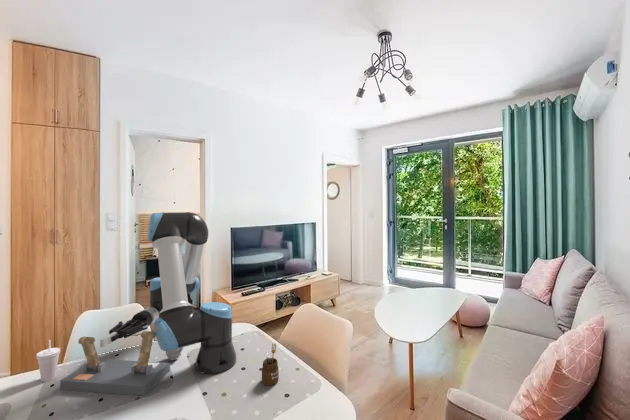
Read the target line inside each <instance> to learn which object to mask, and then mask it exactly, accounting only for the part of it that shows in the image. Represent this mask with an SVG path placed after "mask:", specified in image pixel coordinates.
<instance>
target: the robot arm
mask: <svg viewBox="0 0 630 420" xmlns="http://www.w3.org/2000/svg"><path fill="white" fill-rule="evenodd" d="M148 220H149V222H148V227H147V234H146V235H147V236H146V237H147V238H146V239H147V241H148V242H151V243H152V246H153V247H154V248H155V249H157V258H158V270H159V277H154V278H151V279H150V282H149V307H146V308H145V309H143V310H141V311H139V312H136V313H135V314H134V315H133V316H132V318H131V319H130V320H127V321H126V322H123V321H119V322H118V324H116V325H115V326H113V327H112V328H110V329H109V330H108V334H107V335H105V337H102V338H100V339H99V348H106V346H108V345H110V344H111V343H113V342H116V341H117V340H118V339H119V340H120V339H122V338H124V339H127V338H130V337H132V336H133V335H136V334H137V333H140V332H143V331H146V330H147V329H148V327H150V326H151V325H153V324H154V330H155V331H154V332H155V333H156V336H155V338H156V340H157V341H156V342H157V344H158V346H159V348H160V350H162V351H163V352H166V351H170V350H174V349H175V350H177V349H178V348H182V347H183V348H185V347H189V346H192V345H193V346H194V345H196V344H199V343H200V346H199V350H198V353H197V356H196V359H195V370H197V372H199V373H202V374H206V375H212V374H214V375H215V374H219V373H222V372H225V371H227V370H229V369H231V368H232V367H234V366H235V364H236V363H237V352H236V350H235V346H234V344H233V337H232V336H233V313H232V312H233V311H232V309H233V308H232V307H231V305H229V304H228V303H225V302H219V301H218V302H216V301H211V302H205V303H202V304H201V305H200V307H199V309H197V310H194V305H193V304H192V303H190V302H189V299H188V294H192V293H196V292H198V291H199V289H200V284H201V283H200V279H199V277H197V275H198V271H199V267H200V263H201V259H202V254H203V251H204V250H203V249H204V246H205V244H206V243H207V242H208V239H209V229H208V224H207V222H205V220H204V218H202V217H201V216H200V215H199V214H197V213H195V212H192V211H186V212H185V211H184V212H179V211H178V212H174V211H173V212H164V211H161V212H153V213H152V214H150V216H149V219H148ZM184 242H186V245H185V250H184V254H183V252H182V245H183V244H184Z"/></svg>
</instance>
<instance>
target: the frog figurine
mask: <svg viewBox="0 0 630 420" xmlns="http://www.w3.org/2000/svg"><path fill="white" fill-rule="evenodd" d="M183 349H184V347H182V348H178V349H177V350H175V349H174V350H170V351H165V356H166V357H167V358H168V359H169V361H170V360H171V361H176V360H177V359H179V358H180V356H181V353H182V352H183Z"/></svg>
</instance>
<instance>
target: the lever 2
mask: <svg viewBox="0 0 630 420" xmlns="http://www.w3.org/2000/svg"><path fill="white" fill-rule="evenodd" d="M140 337H141V338H142V339H141V344H140V347H139V354H138V359H137V361H138V363H137V365H136V366H135V368H134V372H140V373H146V367H148V366H149V365H148V362H150V361H149V360H150V355H151V351H152V346H153V340H154V339H155V338H156V333H155V331H154V330H151V331H149V330H142V331H141V333H140Z"/></svg>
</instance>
